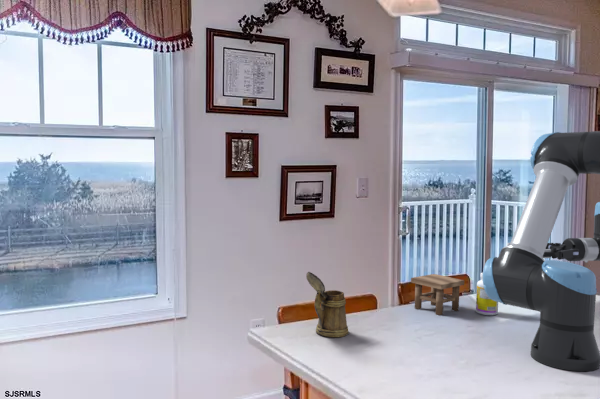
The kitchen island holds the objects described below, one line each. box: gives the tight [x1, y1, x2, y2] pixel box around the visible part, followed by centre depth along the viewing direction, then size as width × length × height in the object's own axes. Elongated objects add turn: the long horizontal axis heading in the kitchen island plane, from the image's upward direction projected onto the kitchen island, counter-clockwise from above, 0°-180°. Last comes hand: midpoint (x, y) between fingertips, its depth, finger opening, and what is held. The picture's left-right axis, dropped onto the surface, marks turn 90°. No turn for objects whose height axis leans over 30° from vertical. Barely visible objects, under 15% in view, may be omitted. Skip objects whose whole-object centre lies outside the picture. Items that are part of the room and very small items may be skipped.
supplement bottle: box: [475, 271, 499, 316], centre depth 168 cm, size 7×7×13 cm
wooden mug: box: [306, 271, 349, 339], centre depth 143 cm, size 9×14×18 cm, turn 128°
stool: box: [410, 273, 465, 316], centre depth 172 cm, size 12×12×10 cm
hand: (518, 250), depth 169 cm, fingers open, 13 cm apart
